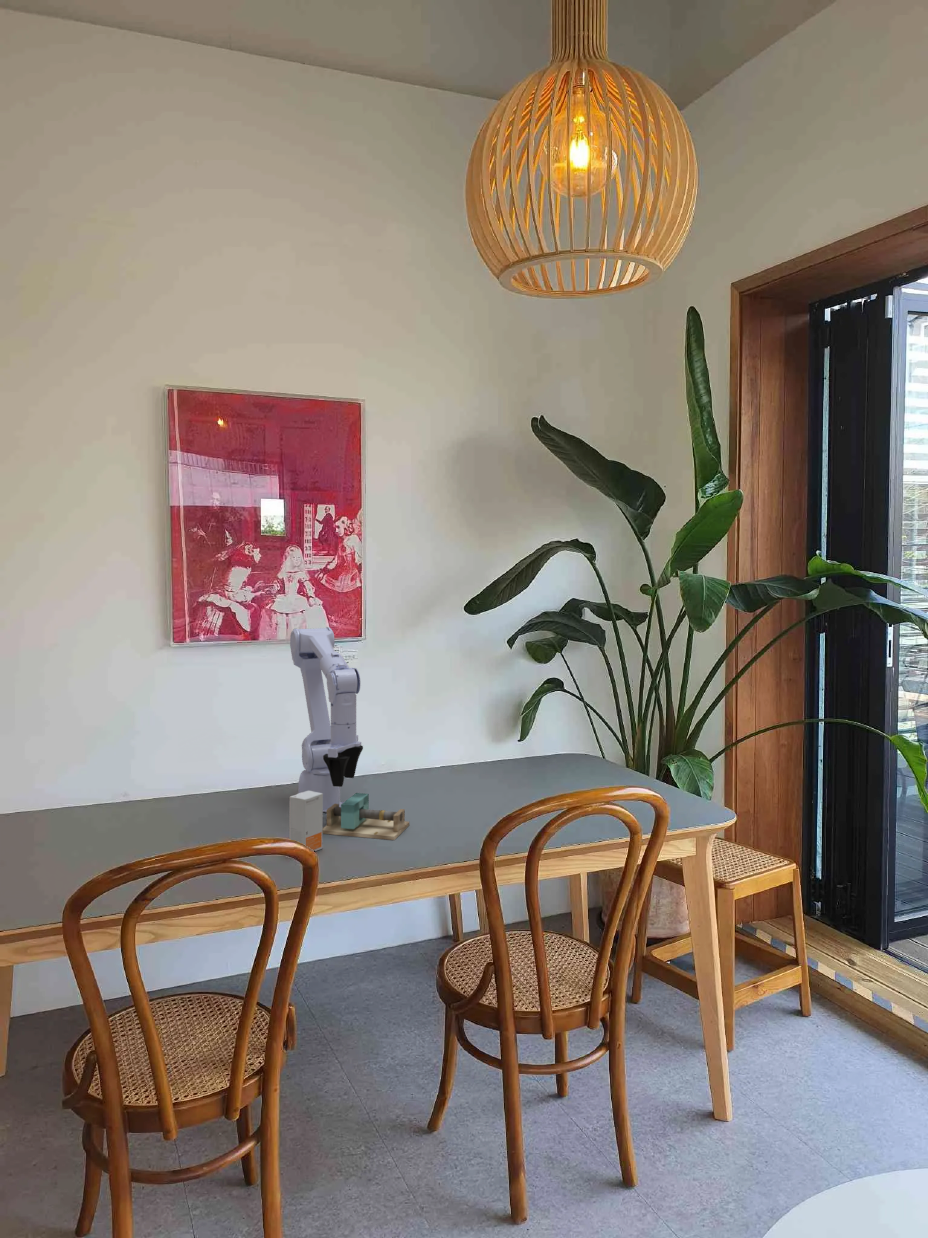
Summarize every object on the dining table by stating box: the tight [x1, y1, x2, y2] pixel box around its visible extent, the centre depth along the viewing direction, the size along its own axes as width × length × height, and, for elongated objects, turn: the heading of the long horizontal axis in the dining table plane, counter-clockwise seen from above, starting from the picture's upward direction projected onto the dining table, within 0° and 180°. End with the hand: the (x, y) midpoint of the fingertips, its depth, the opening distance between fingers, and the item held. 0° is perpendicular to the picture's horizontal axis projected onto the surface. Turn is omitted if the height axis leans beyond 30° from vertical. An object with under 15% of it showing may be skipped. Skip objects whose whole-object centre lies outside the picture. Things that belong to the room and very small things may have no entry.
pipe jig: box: [322, 804, 410, 841], centre depth 217 cm, size 17×11×5 cm, turn 76°
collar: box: [341, 792, 370, 829], centre depth 218 cm, size 3×10×5 cm, turn 166°
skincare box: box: [288, 791, 324, 852], centre depth 202 cm, size 6×4×12 cm
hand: (343, 781), depth 220 cm, fingers open, 7 cm apart
